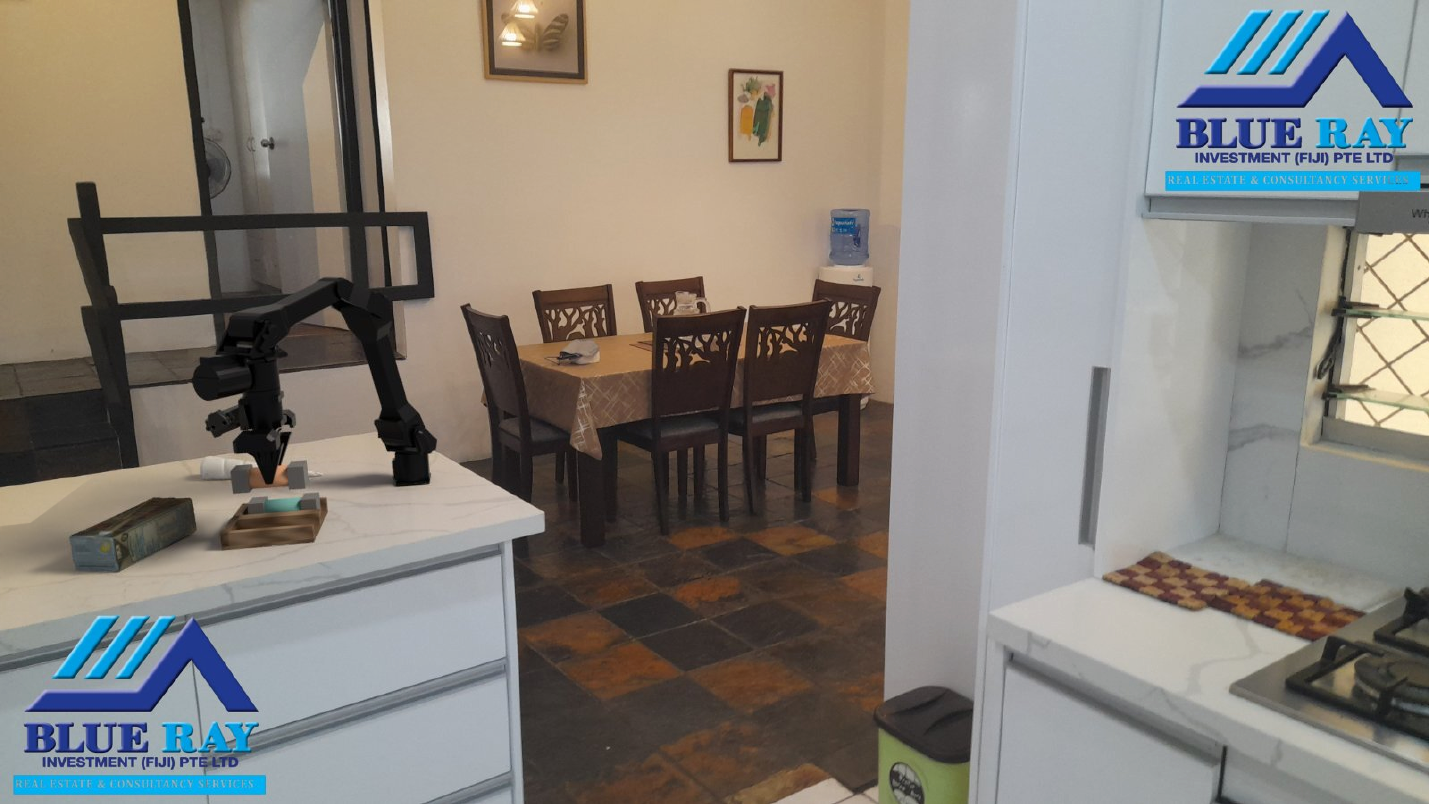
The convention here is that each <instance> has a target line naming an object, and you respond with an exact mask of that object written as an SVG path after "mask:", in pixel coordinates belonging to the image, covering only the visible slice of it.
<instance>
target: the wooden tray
mask: <svg viewBox="0 0 1429 804" xmlns="http://www.w3.org/2000/svg"><path fill="white" fill-rule="evenodd" d="M248 503H249V502H245V503H244V502H243V503H242V504H241V505H240V506H239V508H238V509H237V510H236V511H235V512H234V514H233V516H232V517H231V518H230V520H229V521H228V523H226V525H225V526H224V528H223V529H222V531H221V532H220V533H219V539H220V547H221V551H228V550H229V551H230V550H240V549H253V548H262V547H263V546H264V547H265V546H266V547H273V546H272V545H278V546H285V545H284V544H289V545H298V544H299V545H300V543H301V544H308V543H309V544H310V542H312V543H315V541H316V539H317V537H318V534H319V533H320V530H321V528H322V526H323V523H324V521H325V520H326V517H327V515H328V512H329V511H328V507H329V506H328V498H327V496H324V497H320V507H321V509H313V510H300V511H288V512H275V513H262V514H250V515H249V514H248V505H247V504H248ZM316 536H317V537H316Z"/></svg>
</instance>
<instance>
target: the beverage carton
mask: <svg viewBox="0 0 1429 804" xmlns="http://www.w3.org/2000/svg"><path fill="white" fill-rule="evenodd" d="M195 514H196V513H195V509H194V503H193V499H192V498H191V497H173V496H172V497H170V496H169V497H158V496H157V497H156V496H155V497H151V498H149V499H147V500H145V501H143V502H141V503H139V504H137V505H134V506H132V507H130V508H128V509H126V510H124V511H122V512H120V513H117V514H116V515H114V516H112V517H109V518H106V519H104V520H103V521H101V522H98V523H95V524H94V525H91V526H90V527H87V528H85V529H83V530H80V531H78V532H76V533H73V534H71V535H70V536H69V537H68V539H69V542H70V547H71V548H70V549H71V556H72V562H73V563H74V567H75V570H76V571H77V572H78V571H83V572H101V571H107V572H106V573H120V572H121V571H123V570H124V569H126V568H128V567H130V566H133V565H135V564H136V562H137V563H138V561H139V562H140V560H141V561H142V560H145V559H146V558H148V557H150V556H152V555H153V553H154V554H155V553H157V552H160V551H161V550H163V549H164V548H166V547H168V546H170V545H171V544H173V543H175V542H177V541H179V540H180V539H183V538H185V537H186V536H188V535H190V534H192V533H194V532H196V531H197V530H198V527H197V522H196V515H195Z"/></svg>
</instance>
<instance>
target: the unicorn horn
mask: <svg viewBox="0 0 1429 804" xmlns="http://www.w3.org/2000/svg"><path fill="white" fill-rule="evenodd" d="M247 464H252V467H253V468H254V467H258V465H257V463H256V461H247V460H244V461H243V459H242V460H241V459H240V460H239V459H233V458H225V457H218V456H212V455H211V456H210V455H207V456H205V457H204V458H203V459H202V461H201V463H200V467H199V470H200V471H199V473H200V477H201V479H203V480H205V481H210V480H215V481H217V480H220V479H222V480H231V473H230V471H231V470H232V469H233V468H234V467H235V466H236V465H247ZM323 475H324V474H323V473H322V472H318V471H313V470H309V469H308V476H309V478H310V477H319V476H323Z"/></svg>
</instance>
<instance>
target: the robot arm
mask: <svg viewBox="0 0 1429 804" xmlns="http://www.w3.org/2000/svg"><path fill="white" fill-rule="evenodd" d="M329 307H330V308H332V309H334V310H335V311H337V312H338V313H340V314H341V316H342V318H343V320H344V322H345V324H346V326H347V328H348V330H349V331H350V332H352V334H353V335H354V336H355V337H356V338H358V340H359V341H360V343H361V345H362V349H363V352H364V355H365V359H366V362H367V365H368V368H369V372H370V374H371V378H372V381H373V384H374V388H375V391H376V394H377V397H378V401H379V403H380V408H381V410H380V412H379V416H378V418H376V419H374V421H373V425H374V426H375V428H376V432H377V439H381V441H382V443H383V445H384V448H385V450H386V452H389V453H393V454H394V457H393V458H392V461H391V464H392V477H393V481H395V486H397V487H398V486H399V487H401V486H410V485H414V486H415V485H425V484H427V485H428V484H430V483H431V479H432V472H431V471H430V470H431V469H430V456H429V454H433V452H435V451H436V450H437V444H438V438H436V437H435V436H434V435H433V434H432V433H431V431H429V430H428V428H427V427H426V425H425V423H424V420H423V419H422V416H421V414H420V412H419V411H418V410H417V409H416V408H415V407H414V406H413V405H412V404H411V403H410V402H409V400H408V399H407V397H408V396H407V395H406V391H405V387H404V385H403V381H402V378H401V375H400V371H399V367H398V364H397V361H396V357H395V354H394V349H393V347H392V343H391V341H390V337H389V333H390V329H391V326H392V324H393V316H392V310H391V303H390V301H389V299H388V297H387V296H386V295H384V294H383V293H381V292H374V291H373V290H371V289H368V288H366V287H363V286H360V285H358V284H355V283H353V282H352V281H351V280H349V279H347V278H345V277H343V276H323V277H321V278H319V279H318V280H317V281H316V282H314V283H312V284H310V285H308V286H305V287H304V288H303V289H299V290H297V291H296V292H294V293H292V294H290V295H288V296H285V297H284V298H282V299H280V300H279V301H276V302H275V303H271V304H268V305H261V306H257V307H250V308H246V309H243V310H239V311H235V312H234V313H233V314H231V315H230V316H229V317H228V324H227V326H226V330H225V331H224V333H223V336H222V338H221V340H220V342H219V344H218V346H217V348H216V350H215V352H214V354H215V355H203V356H200V357H199V360H198V361H199V365H197V366H196V367H195V369H194V371H193V374H192V377H191V384H192V388H193V391H194V392H195V394H196V395H197V396H198V397H199V398H200V399H201V400H203V401H205V402H212V401H216V400H220V399H221V400H222V399H226V398H229V397H232V396H237V395H242V396H241V397H240V398H239V399H238V401H237V404H236V405H233V406H231V407H228V408H226V409H224V410H221V409H217V410H215V411H214V412H212V411H211V412H209V413H208V414H207V418H206V419H205V420H204V423H205V430H206V431H207V432H210V433H211V435H212V436H213V438H214V439H217V438H220V437H221V436H222V435H224V434H226V433H228V432H230V431H233V430H235V429H238V428H239V429H240V431H241V432H240V433H238V435H237V436H236V437H235V438H234V439H233V441H232V447H233V448H232V450H233V454H237V455H239V454H248V455H250V456H251V457H252V458H253V459H254V462H256V463H257V465H258V468H259V470H260V472H261V475H262V477H263V479H264V482H265V484H267V485H269V484H273V482H274V479H275V475H276V471H277V468H278V466H282V465H283V464H282V463H283V462H284V458H285V456H286V455H285V454H286V452H287V449H288V445H289V442H290V439H291V437H292V434H293V432H292V431H283V426H289V428H290V429H294V428H295V426H296V425H297V417H296V413H294V412H293V411H292V410H291V409H289V408H288V409H287V408H285V409H284V407H283V398H284V397H285V391H284V390H281V380H280V370H279V362H278V359H284V358H287V357H288V356H289V353H288V352H287V351H285V349H282V348H281V347H280V346H279V343H281V342H282V341H283V340H284V339H285V338H287V337H288V335H289V334H290V331H291V329H292V328H293V327H294V326H296V325H297V324H298V323H300V322H303V321H304V320H307V319H308V318H311V317H312V316H314V315H316V314H317V313H319V312H322V311H323V310H325V309H327V308H329Z"/></svg>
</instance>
